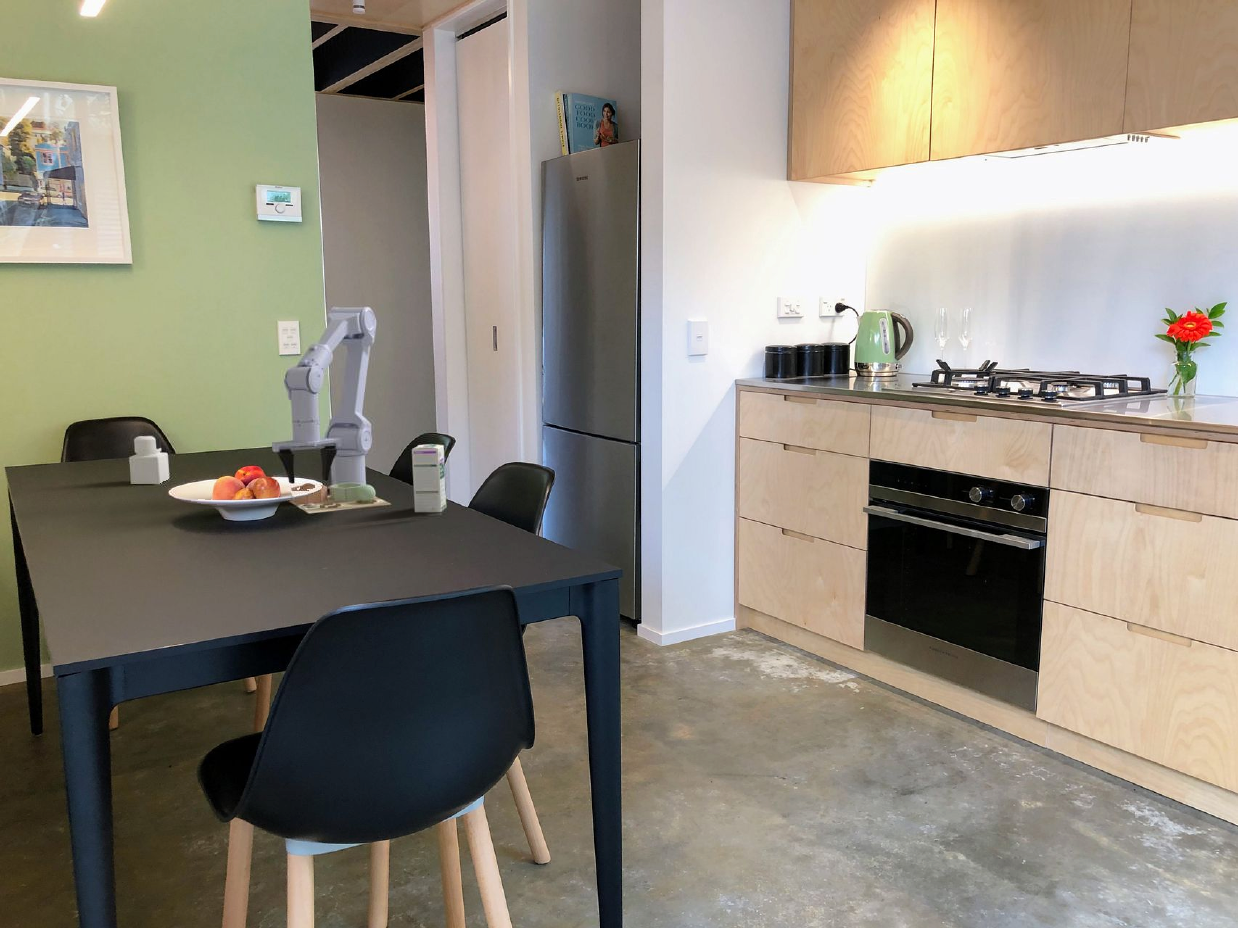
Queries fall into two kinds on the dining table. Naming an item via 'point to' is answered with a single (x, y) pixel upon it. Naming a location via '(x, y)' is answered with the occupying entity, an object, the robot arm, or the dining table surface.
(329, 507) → the board
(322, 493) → the terracotta tube
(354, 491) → the green octagonal ring
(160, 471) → the medicine bottle
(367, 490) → the sage ball
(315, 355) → the robot arm
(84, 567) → the dining table surface
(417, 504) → the syrup box
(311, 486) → the terracotta ball
